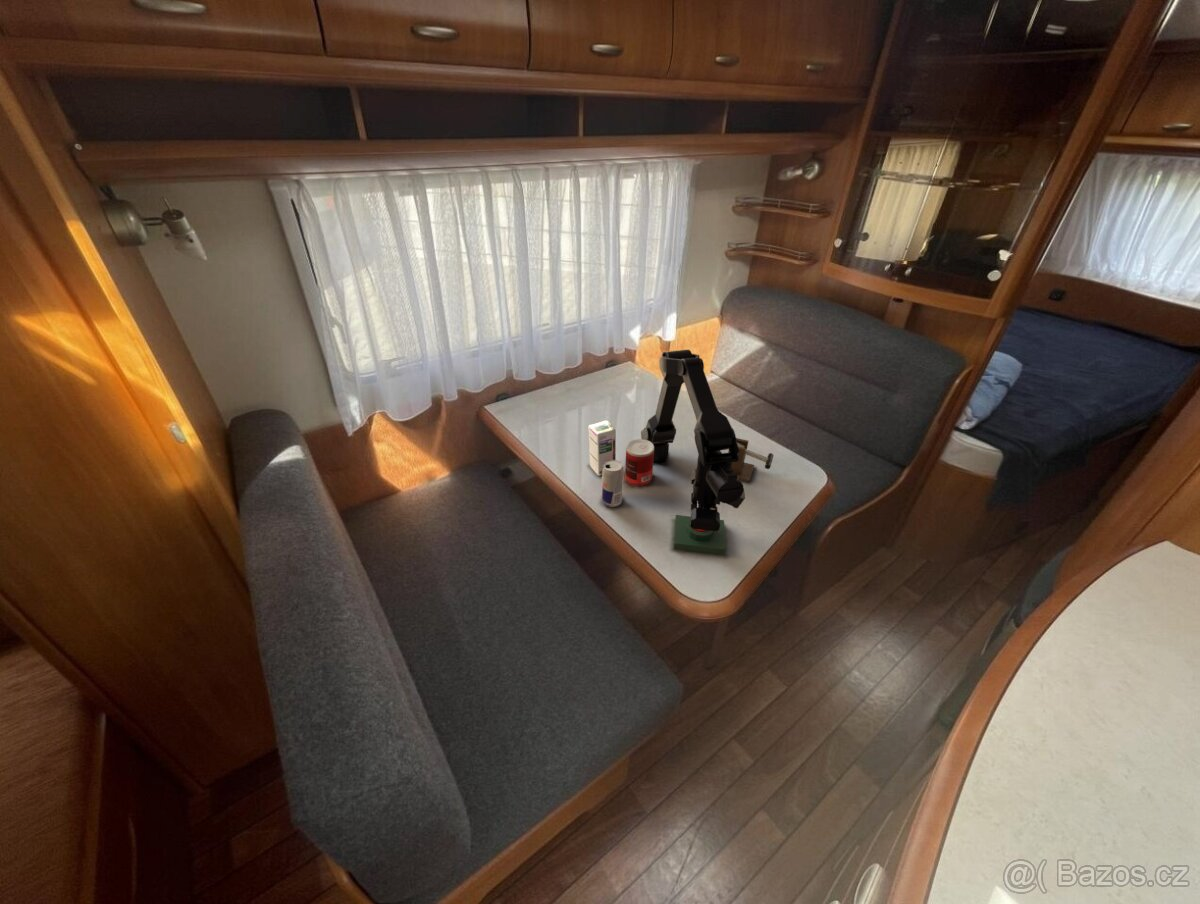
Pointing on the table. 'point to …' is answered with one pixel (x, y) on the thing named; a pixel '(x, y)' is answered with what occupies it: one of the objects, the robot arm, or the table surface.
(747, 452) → the lever
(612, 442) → the syrup box
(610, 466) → the energy drink
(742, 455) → the bracket
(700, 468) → the robot arm
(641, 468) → the canned food
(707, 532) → the button box
